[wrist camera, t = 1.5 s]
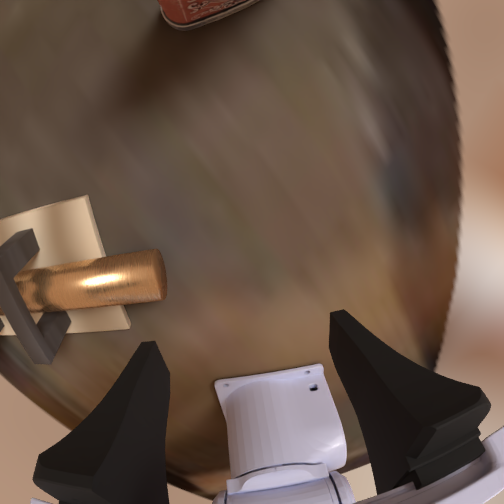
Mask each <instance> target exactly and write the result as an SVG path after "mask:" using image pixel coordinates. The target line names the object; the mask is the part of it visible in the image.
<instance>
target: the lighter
mask: <svg viewBox="0 0 504 504" xmlns="http://www.w3.org/2000/svg"><path fill="white" fill-rule="evenodd" d="M257 1H259V0H158V2H159V4H160V5H161V13H162V15H163V17H164V19H165V20H166V22H167V23H168V24H169V25H170V26H171V27H173V28H175V29H177V30H183V31H187V30H192V29H195V28H198V27H200V26H203V25H206V24H208V23H211V22H214V21H217V20H220V19H222V18H224V17H226V16H228V15H231V14H233V13H235V12H238V11H240V10H242V9H245V8H247V7H248V6H250V5H252V4H254V3H256V2H257Z"/></svg>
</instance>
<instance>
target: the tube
mask: <svg viewBox="0 0 504 504" xmlns="http://www.w3.org/2000/svg"><path fill="white" fill-rule="evenodd" d="M13 279H14V281H15V283H16V285H17V287H18V289H19V292H20V294H21V296H22V298H23V300H24V302H25V304H26V306H27V308H28V310H29V312H30V314H33V313H45V312H56V311H67V310H78V309H88V308H98V307H107V306H117V305H126V304H135V303H143V302H152V301H160V300H165V298H166V295H167V277H166V270H165V265H164V261H163V258H162V255H161V253H160V251H159V250H158V249H151V250H145V251H138V252H132V253H126V254H119V255H113V256H107V257H101V258H95V259H88V260H82V261H76V262H70V263H65V264H59V265H53V266H47V267H41V268H35V269H30V270H24V271H20V272H19V273H18V274H17V275H16V276H15V277H14V278H13ZM0 316H5V314H4V312H3V311H2V309H1V307H0Z"/></svg>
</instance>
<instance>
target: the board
mask: <svg viewBox="0 0 504 504" xmlns="http://www.w3.org/2000/svg"><path fill="white" fill-rule="evenodd" d="M101 257H106V255H105V252H104V248H103V245H102V242H101V239H100V236H99V232H98V229H97V226H96V222H95V219H94V215H93V212H92V208H91V204H90V200H89V197H88V195H85V196H81V197H77V198H73V199H69V200H65V201H61V202H57V203H54V204H50V205H46V206H43V207H39V208H36V209H32V210H29V211H25V212H22V213H18V214H15V215H12V216H9V217H6V218H2V219H0V307H1V309H2V311H3V312H4V314H5V316H0V335H17V337H18V339H19V340H20V342H21V344H22V345H23V347H24V349H25V350H26V352H27V353H28V355H29V356H30V358H31V359H32V361H33V362H34V364H51V363H52V361H53V359H54V357H55V355H56V353H57V350H58V348H59V346H60V344H61V342H62V340H63V338H64V336H65V334H66V333H80V332H95V331H109V330H122V329H130V326H131V322H130V320H129V317H128V315H127V312H126V310H125V307H124V305H117V306H107V307H98V308H88V309H78V310H67V311H56V312H45V313H33V314H30V312H29V310H28V308H27V306H26V304H25V302H24V300H23V298H22V296H21V294H20V292H19V289H18V287H17V285H16V283H15V281H14V279H13V278H14V277H15V276H16V275H17V274H18V273H19V272H20V271H24V270H30V269H35V268H41V267H47V266H53V265H59V264H65V263H70V262H76V261H82V260H88V259H95V258H101Z"/></svg>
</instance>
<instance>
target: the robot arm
mask: <svg viewBox="0 0 504 504" xmlns="http://www.w3.org/2000/svg"><path fill="white" fill-rule="evenodd" d="M329 349H330V353H331V356H332V359H333V362H334V365H335V368H336V370H337V373H338V375H339V377H340V379H341V381H342V383H343V386H344V388H345V390H346V392H347V394H348V396H349V399H350V401H351V403H352V405H353V407H354V410H355V412H356V415H357V417H358V421H359V424H360V427H361V430H362V433H363V437H364V440H365V444H366V447H367V451H368V455H369V459H370V463H371V467H372V471H373V476H374V480H375V485H376V491H377V496H374V497H371V498H368V499H365V500H362V501H359V502H356V501H355V498H354V494H353V491H352V489H351V486H350V484H349V482H348V480H347V479H346V477H345V476H343V475H341V474H339V473H338V472H337V471H333V472H330V471H332V470H335V469H338V468H341V467H343V466H344V465H345V463H346V456H347V450H346V442H345V436H344V432H343V428H342V424H341V421H340V418H339V416H338V413H337V410H336V407H335V404H334V402H333V399H332V396H331V393H330V391H329V388H328V385H327V382H326V380H325V377H324V374H323V370H324V368H323V365H322V364H314V365H309V366H304V367H299V368H294V369H288V370H283V371H277V372H271V373H264V374H258V375H251V376H244V377H237V378H229V379H220V380H217V381H215V383H214V384H215V389H216V392H217V395H218V399H219V402H220V405H221V408H222V411H223V414H224V416H225V419H226V422H227V433H228V446H229V458H230V469H231V479H229V480H226V483H227V490H223V491H220V492H219V493H218V495H217V496H216V497H215V498H214V500H213V503H212V504H484V503H485V502H487V501H488V500H489V499H491V498H492V497H494V496H495V495H497V494H498V493H499V492H501V491H502V490H503V489H504V426H503V427H501V428H500V429H498V430H497V431H495V432H494V433H492V434H491V435H489V436H488V437H486V438H485V439H484V440H483V441H482V442H481V441H480V439H479V436H480V434H481V433H480V431H479V429H478V426H479V425H480V423H481V422H482V421H483V419H484V418H485V417H486V415H487V414H488V412H489V411H490V408H491V403H490V402H489V400H488V398H487V397H486V395H485V394H484V392H483V391H482V390H481V388H480V387H477V386H473V385H469V384H466V383H462V382H458V381H455V380H453V379H450V378H447V377H444V376H442V375H439V374H437V373H435V372H432V371H430V370H428V369H426V368H424V367H422V366H420V365H418V364H416V363H414V362H413V361H411V360H409V359H407V358H406V357H404V356H402V355H401V354H399V353H398V352H396V351H395V350H393V349H392V348H391V347H389V346H388V345H386V344H385V343H384V342H382V341H381V340H380V339H379V338H377V337H376V336H375V335H374V334H372V333H371V332H370V331H369V330H368V329H366V328H365V327H364V326H363V325H362V324H361V323H359V322H358V321H357V320H356V319H355V318H354V317H353V316H351V315H350V314H349V313H348V312H347V311H346V310H344V309H343V310H339V311H334V312H330V332H329ZM169 399H170V372H169V370H168V368H167V366H166V364H165V362H164V360H163V357H162V355H161V353H160V351H159V349H158V346H157V344H156V342H155V341H149V342H142V343H141V344H140V345H139V347H138V348H137V350H136V352H135V353H134V355H133V356H132V358H131V359H130V361H129V362H128V364H127V366H126V367H125V369H124V370H123V372H122V373H121V375H120V376H119V378H118V379H117V381H116V382H115V384H114V385H113V386H112V388H111V389H110V390H109V392H108V393H107V394H106V396H105V397H104V398H103V400H102V401H101V402H100V403H99V404H98V406H97V407H96V408H95V409H94V410H93V411H92V412H91V413H90V414H89V415H88V416H87V417H86V418H85V419H84V420H83V421H82V422H81V423H80V424H79V425H78V426H77V427H76V428H75V429H74V430H73V431H71V432H70V433H69V434H68V435H67V436H66V437H64V438H63V439H62V440H61V441H59V442H58V443H56V444H55V445H54V446H52V447H50V448H49V449H47V450H46V451H44V452H42V453H41V454H39V456H38V460H37V463H36V467H35V471H34V475H33V482H34V483H35V484H36V485H37V486H38V487H39V488H40V489H42V490H43V491H45V492H46V493H48V494H49V495H51V496H53V497H54V498H56V499H57V500H59V504H169V498H168V489H167V479H166V465H165V436H166V426H167V417H168V408H169ZM328 472H329V473H328ZM30 504H52V503H49V502H46V501H42V500H39V499H36V498H31V503H30Z"/></svg>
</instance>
